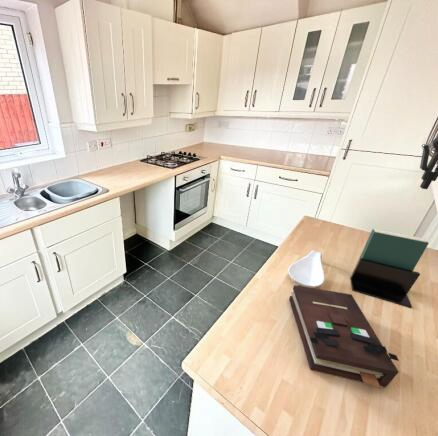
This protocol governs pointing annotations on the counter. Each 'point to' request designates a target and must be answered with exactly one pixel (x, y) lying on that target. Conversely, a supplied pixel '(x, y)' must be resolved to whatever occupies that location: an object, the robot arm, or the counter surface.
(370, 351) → the decorative book
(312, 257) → the spoon rest
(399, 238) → the book
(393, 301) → the bookend
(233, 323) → the counter surface
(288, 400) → the counter surface
